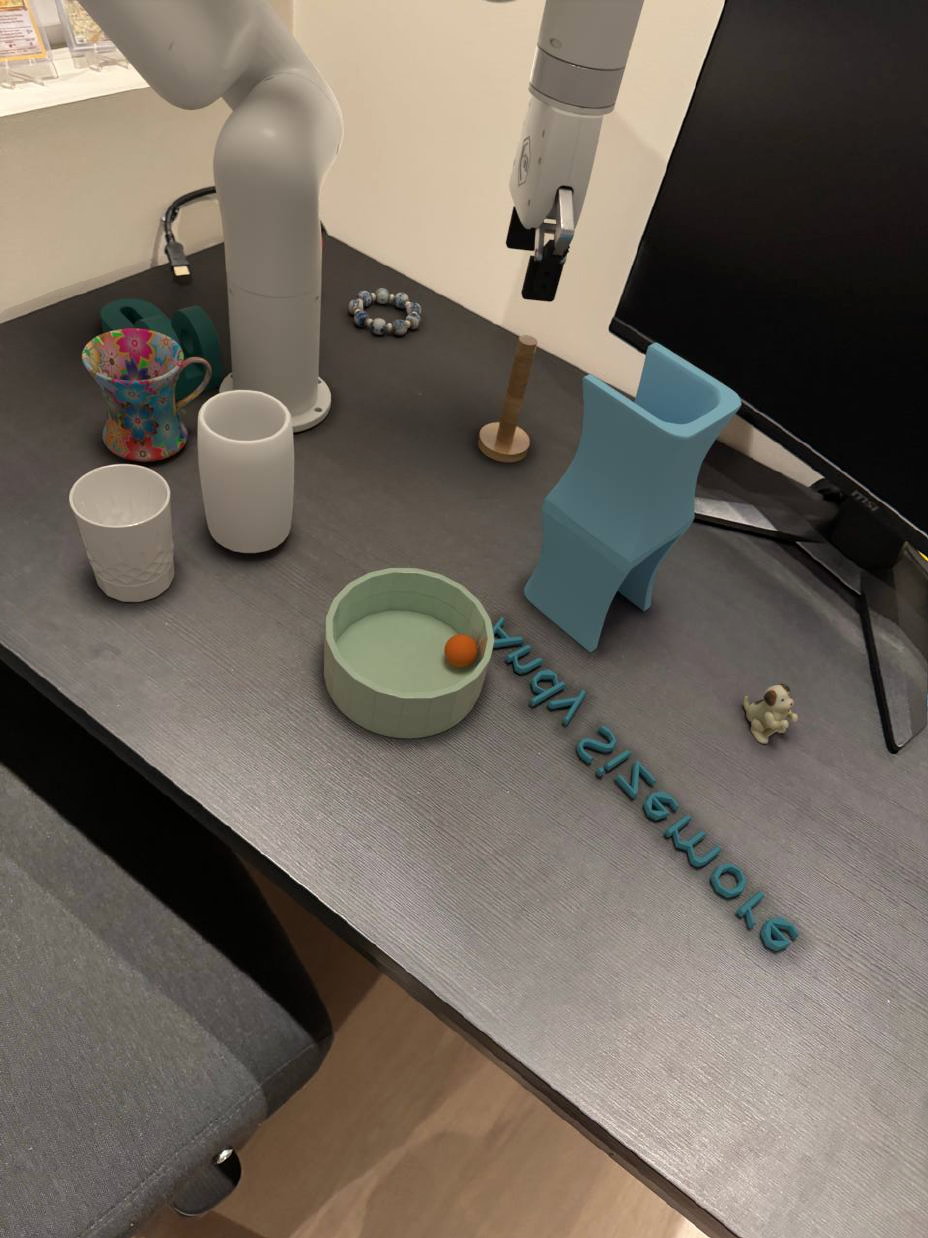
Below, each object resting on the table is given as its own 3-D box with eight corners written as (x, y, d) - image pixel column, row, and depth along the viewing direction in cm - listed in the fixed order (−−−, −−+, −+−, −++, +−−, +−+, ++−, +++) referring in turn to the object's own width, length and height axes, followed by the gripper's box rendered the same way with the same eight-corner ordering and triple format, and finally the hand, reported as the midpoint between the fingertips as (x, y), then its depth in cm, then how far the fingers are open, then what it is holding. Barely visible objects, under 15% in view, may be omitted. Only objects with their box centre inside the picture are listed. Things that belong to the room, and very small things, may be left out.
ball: (453, 644, 78) (453, 622, 75) (482, 655, 77) (483, 634, 74) (438, 667, 76) (438, 646, 73) (468, 679, 75) (469, 658, 73)
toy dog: (762, 748, 76) (787, 718, 73) (731, 706, 79) (753, 675, 75) (791, 738, 78) (817, 707, 74) (760, 697, 80) (783, 665, 76)
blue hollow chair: (578, 550, 90) (655, 340, 71) (650, 606, 86) (751, 400, 67) (516, 591, 84) (581, 375, 65) (590, 653, 80) (681, 443, 62)
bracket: (223, 385, 98) (219, 323, 92) (170, 402, 95) (162, 339, 89) (145, 310, 106) (136, 249, 100) (92, 323, 102) (81, 261, 96)
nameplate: (508, 616, 82) (467, 636, 79) (509, 611, 81) (469, 631, 79) (804, 929, 65) (765, 967, 63) (809, 926, 65) (770, 964, 62)
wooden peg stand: (473, 429, 100) (495, 322, 90) (521, 430, 102) (548, 325, 91) (482, 462, 97) (506, 355, 86) (532, 462, 98) (562, 357, 88)
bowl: (322, 610, 79) (324, 565, 74) (471, 612, 81) (481, 569, 77) (324, 740, 70) (327, 698, 65) (491, 737, 72) (505, 697, 68)
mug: (111, 477, 86) (93, 388, 78) (91, 422, 90) (72, 333, 82) (228, 456, 90) (222, 370, 82) (203, 405, 95) (196, 320, 87)
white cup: (197, 563, 80) (188, 482, 72) (150, 619, 75) (135, 539, 67) (123, 535, 81) (106, 452, 73) (71, 589, 76) (48, 506, 68)
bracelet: (368, 291, 117) (369, 278, 116) (432, 314, 116) (434, 300, 114) (336, 322, 111) (337, 308, 109) (404, 347, 109) (406, 333, 108)
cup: (311, 539, 84) (315, 423, 74) (242, 577, 80) (235, 459, 69) (257, 493, 87) (253, 375, 77) (188, 527, 83) (173, 407, 72)
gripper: (515, 36, 75) (479, 226, 88) (551, 111, 64) (504, 316, 77) (595, 50, 77) (548, 235, 89) (643, 125, 66) (582, 324, 78)
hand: (528, 272), depth 83 cm, fingers open, 9 cm apart
